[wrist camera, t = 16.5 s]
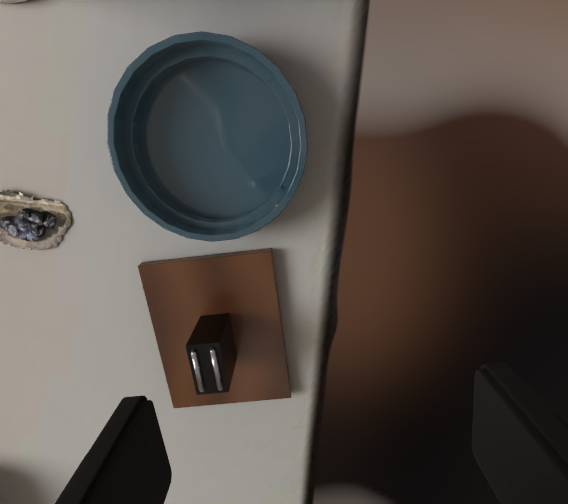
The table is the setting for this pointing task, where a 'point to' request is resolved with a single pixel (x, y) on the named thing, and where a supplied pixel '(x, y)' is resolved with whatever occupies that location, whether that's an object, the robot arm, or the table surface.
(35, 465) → the table surface
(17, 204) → the blueberries
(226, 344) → the clip
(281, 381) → the serving board
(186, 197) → the bowl
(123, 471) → the robot arm
